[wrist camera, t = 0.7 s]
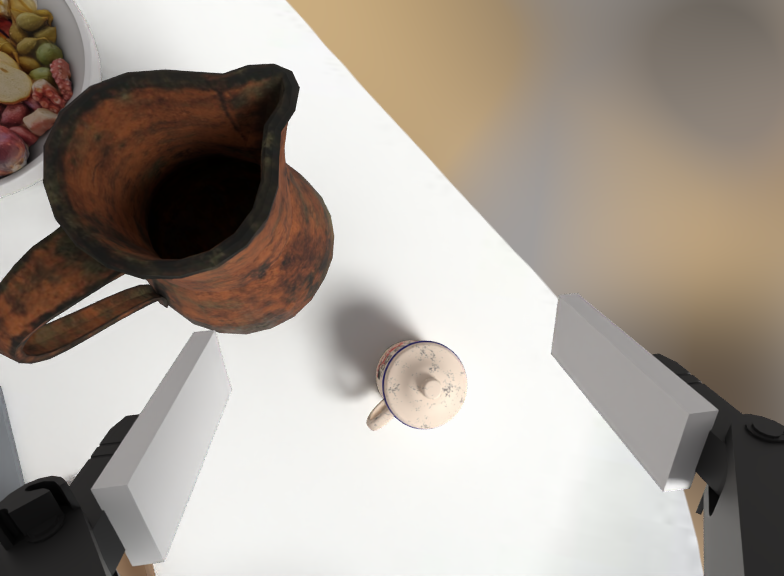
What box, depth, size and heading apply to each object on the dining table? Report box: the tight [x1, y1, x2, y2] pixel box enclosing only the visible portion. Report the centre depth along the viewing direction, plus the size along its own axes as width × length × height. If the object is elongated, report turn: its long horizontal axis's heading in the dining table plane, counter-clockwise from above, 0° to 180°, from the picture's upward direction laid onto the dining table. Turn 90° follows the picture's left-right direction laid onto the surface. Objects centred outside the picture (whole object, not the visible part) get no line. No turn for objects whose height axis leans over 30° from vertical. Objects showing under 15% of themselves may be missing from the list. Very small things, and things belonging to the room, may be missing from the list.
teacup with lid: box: [367, 340, 467, 431], centre depth 45 cm, size 12×9×12 cm
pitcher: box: [0, 64, 334, 364], centre depth 34 cm, size 17×21×30 cm
